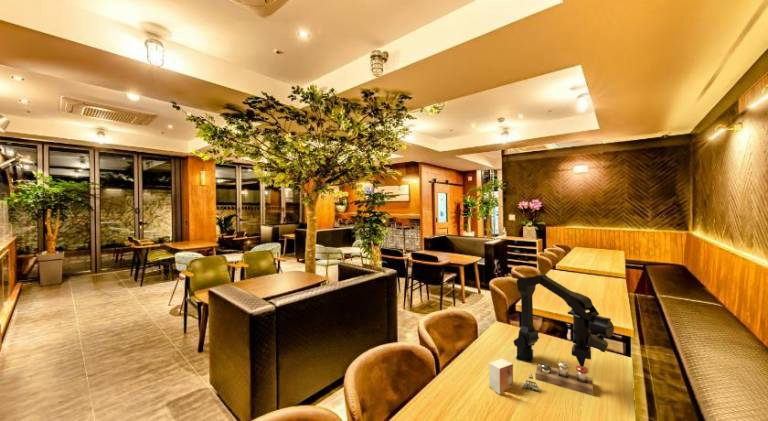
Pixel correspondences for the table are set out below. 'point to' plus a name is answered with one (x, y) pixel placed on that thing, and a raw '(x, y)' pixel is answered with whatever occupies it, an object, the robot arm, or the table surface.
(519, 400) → the table surface
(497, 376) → the small box
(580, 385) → the socket board
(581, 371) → the red plug
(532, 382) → the house of cards
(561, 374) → the cream plug
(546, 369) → the grey plug
